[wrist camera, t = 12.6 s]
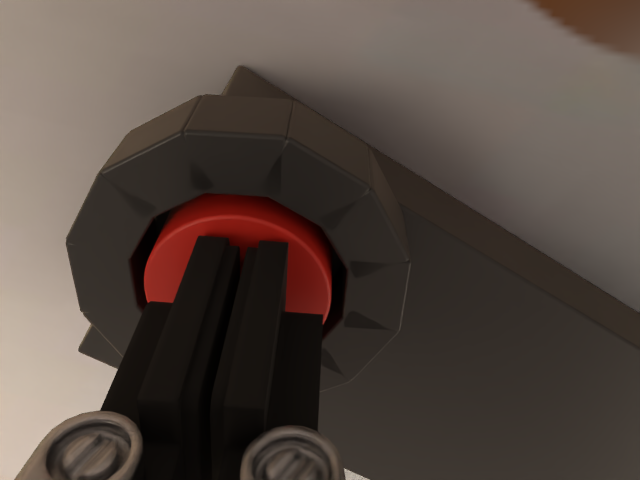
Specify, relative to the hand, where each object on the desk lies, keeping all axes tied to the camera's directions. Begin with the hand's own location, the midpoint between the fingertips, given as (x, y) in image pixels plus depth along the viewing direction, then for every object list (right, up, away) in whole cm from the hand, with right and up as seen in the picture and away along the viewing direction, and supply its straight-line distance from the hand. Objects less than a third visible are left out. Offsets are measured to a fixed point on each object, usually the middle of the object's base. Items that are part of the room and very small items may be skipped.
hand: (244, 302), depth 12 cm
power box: (+4, -1, +6) cm, 7 cm away
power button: (0, +1, +1) cm, 2 cm away
